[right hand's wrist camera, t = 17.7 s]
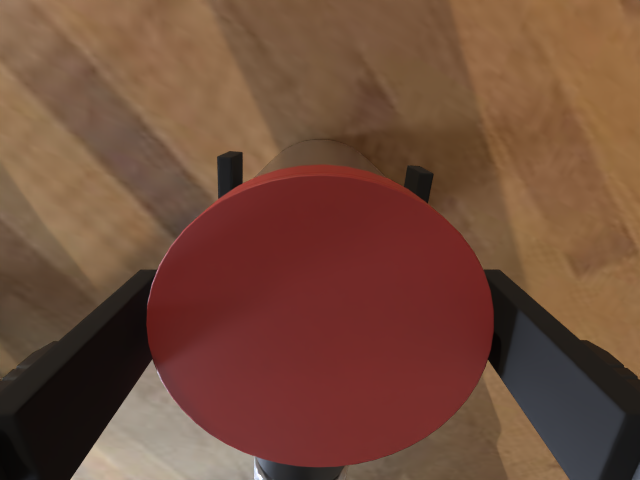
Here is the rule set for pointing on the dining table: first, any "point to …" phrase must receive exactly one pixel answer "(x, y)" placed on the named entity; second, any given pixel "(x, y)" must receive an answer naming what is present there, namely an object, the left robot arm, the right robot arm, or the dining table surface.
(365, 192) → the lid
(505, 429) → the dining table surface
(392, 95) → the dining table surface
